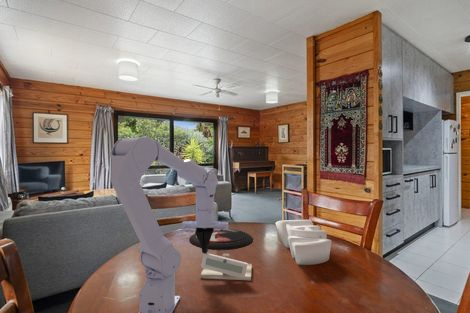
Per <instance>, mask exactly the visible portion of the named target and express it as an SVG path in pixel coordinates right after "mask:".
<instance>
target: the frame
mask: <svg viewBox="0 0 470 313" xmlns="http://www.w3.org/2000/svg"><path fill="white" fill-rule="evenodd" d="M202 254H203V255H202V260H201V265H200V268H201V269H204V268H205V269H209V270H213V271H217V272H220V273H224V274H228V275H232V276H236V277H240V278H245V274H246V269H247V264H249V263H248V262H245V261H241V260H237V259H233V258H230V257H229V258H225V257H223V256H221V255H216V254H214V253H209V252H207V253H202Z"/></svg>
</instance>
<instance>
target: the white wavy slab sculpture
mask: <svg viewBox="0 0 470 313" xmlns="http://www.w3.org/2000/svg"><path fill="white" fill-rule="evenodd" d="M274 224H275V227H276V230H277V233H278V236H279V239H280V241H281V243H282V244H283V246H284V247H285V248H287V249H290V254H291V257H292V259H295V263H296V264H297V265H298V266H299V265H300V266H303V265H304V266H310V265H311V266H312V265H318V264H323V263H325V262H327V261H329V260H330V253H331V248H332V242H333V240H331V239H328V238H327V235H328V232H327V231H326V230H321V226H319V225H313V221H312V220H311V219H291V220H290V219H289V220H285V219H283V220H278V221H276V222H275V223H274Z"/></svg>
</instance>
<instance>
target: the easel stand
mask: <svg viewBox="0 0 470 313" xmlns="http://www.w3.org/2000/svg"><path fill="white" fill-rule="evenodd" d="M222 257H225V258H229V259H230V253H222ZM252 264H253V263H248V264H247V269H246V274H245V278H240V277H236V276H232V275H228V274H224V273H220V272H217V271H213V270H209V269H205V268H202V270H201V273H200V279H207V280H208V279H209V280H210V279H211V280H213V279H214V280H233V281H235V280H236V281H252V268H253V265H252Z"/></svg>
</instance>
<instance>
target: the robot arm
mask: <svg viewBox="0 0 470 313" xmlns="http://www.w3.org/2000/svg"><path fill="white" fill-rule="evenodd" d="M109 157H110V158H111V172H110V173H111V174H110V182H111V185H112V187H113V189H114V191H115V193H116V196H117V198H118V199H119V201H120V203H121V205H122V208H123V209H124V212H125V213H126V216H127V218H128V220H129V222H130V223H131V225H132V228H133V231H134V232H135V234H136V236H137V238H138V240H139V245H138V246H137V250H138V251H139V261H140V263H141V265H142V266H143V267H144V272H145V280H144V284H143V285H142V286H141V289H140V291H139V294H138V296H139V297H138V298H139V299H138V300H139V306H138V307H139V308H138V309H139V312H138V313H174V312H173V311H174V310H175V308H176V307H177V305H178V303H179V300H180V299H181V296H180V295H176V289H175V288H176V276H175V274H176V273H177V271H178V269H180V268H179V267H180V266H181V262H182V256H181V252H180V251H179V250H178V249H177V248H176V247H174V245H173V243H172V242H171V241H170V240H169V239H168V238H167V237H166V236H164V234H163V231H162V230H161V227H160V225H159V223H158V221H157V218H156V216H155V214H154V212H153V209H152V207H151V204H150V202H149V200H148V197H147V196H146V194H145V191H144V189H143V186H142V184H141V183H140V180H141V178H142V176H143V175H144V174H145V173H146V172H147V170H149V168H150V167H151V166H152V164H153V163H154V162H157V163H159V164H161V165H164V166H165V167H168V168H169V169H172V170H175V171H176V173H177V176H178V177H179V178H180V179H183V180H185V181H187V182H189V183H190V184H191V185H192V187H193V188H195V220H188V221H187V220H185V221H182V222H181V230H186V229H195V233H194V234H196V236H197V238H198V240H199V242H200V245H201V247H200V248H201V252H202V254H204V253H208V252H209V249H208V246H209V242H210V239H211V236H212V233H213V231H214V229H224V230H228V228H229V222H227V221H218V220H215V194H216V192H217V191H216V188H217V185H218V184H219V179H218V176H217V175H216V173H215V172H214V171H212V170H208V169H205V167H204V166H202V165H199V164H198V163H196V160H195V159H194V158H189V159H184V160H183V159H182V158H180V157H179V156H177V155H176V154H175V153H173V152H171V151H170V150H169V149H167V148H166V147H164V146H163V145H162V143H161V142H159V141H157V140H154V139H153V138H152V137H149V136H140V137H130V138H127V137H124V138H120V139H118V140H116V142H115V143H114V144H113V146H112V147H111V150H110V152H109Z"/></svg>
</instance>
